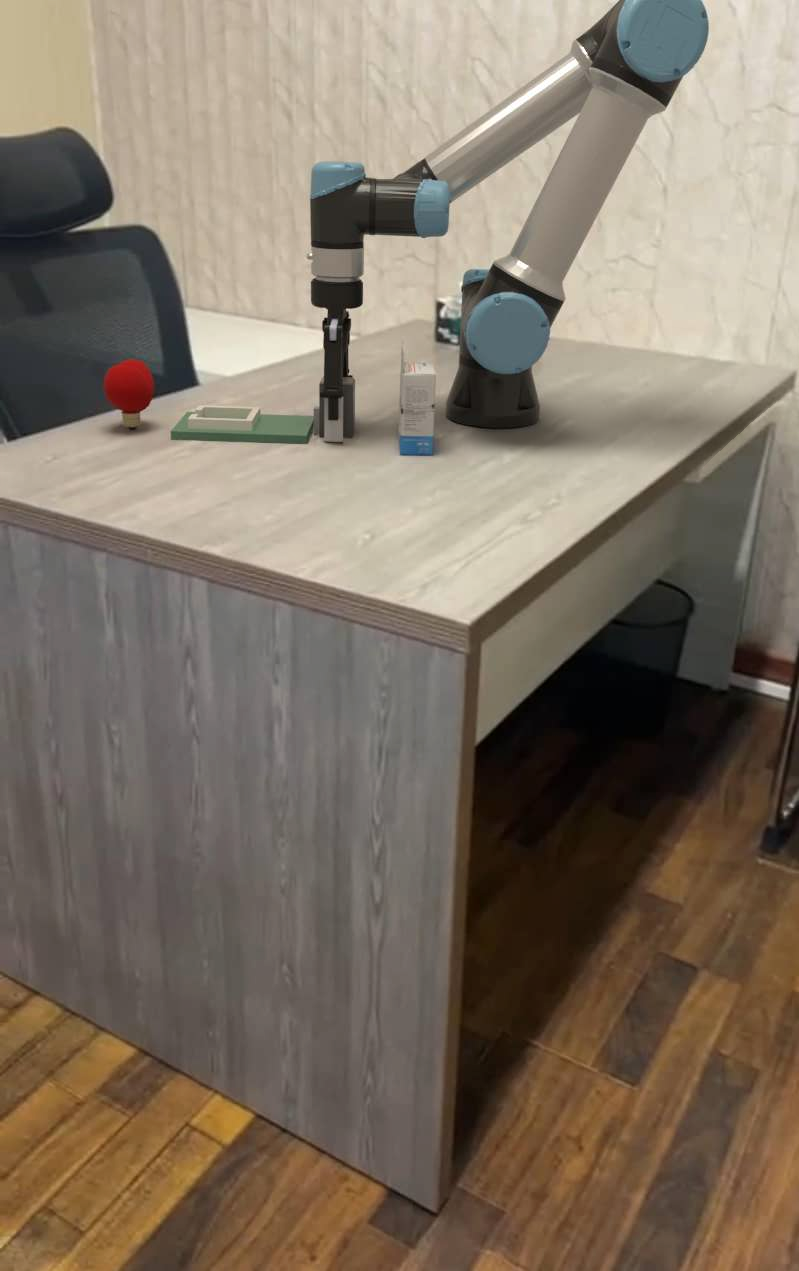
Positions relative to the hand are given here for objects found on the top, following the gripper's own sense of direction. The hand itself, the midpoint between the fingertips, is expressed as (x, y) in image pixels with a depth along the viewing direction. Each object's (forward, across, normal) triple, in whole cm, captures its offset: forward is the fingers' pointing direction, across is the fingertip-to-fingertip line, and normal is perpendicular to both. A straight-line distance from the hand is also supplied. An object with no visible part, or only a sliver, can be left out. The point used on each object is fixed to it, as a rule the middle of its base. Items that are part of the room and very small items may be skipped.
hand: (336, 432), depth 176 cm
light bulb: (0, +1, -31) cm, 31 cm away
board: (0, 0, -14) cm, 14 cm away
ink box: (0, +6, +12) cm, 14 cm away
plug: (0, 0, 0) cm, 0 cm away
